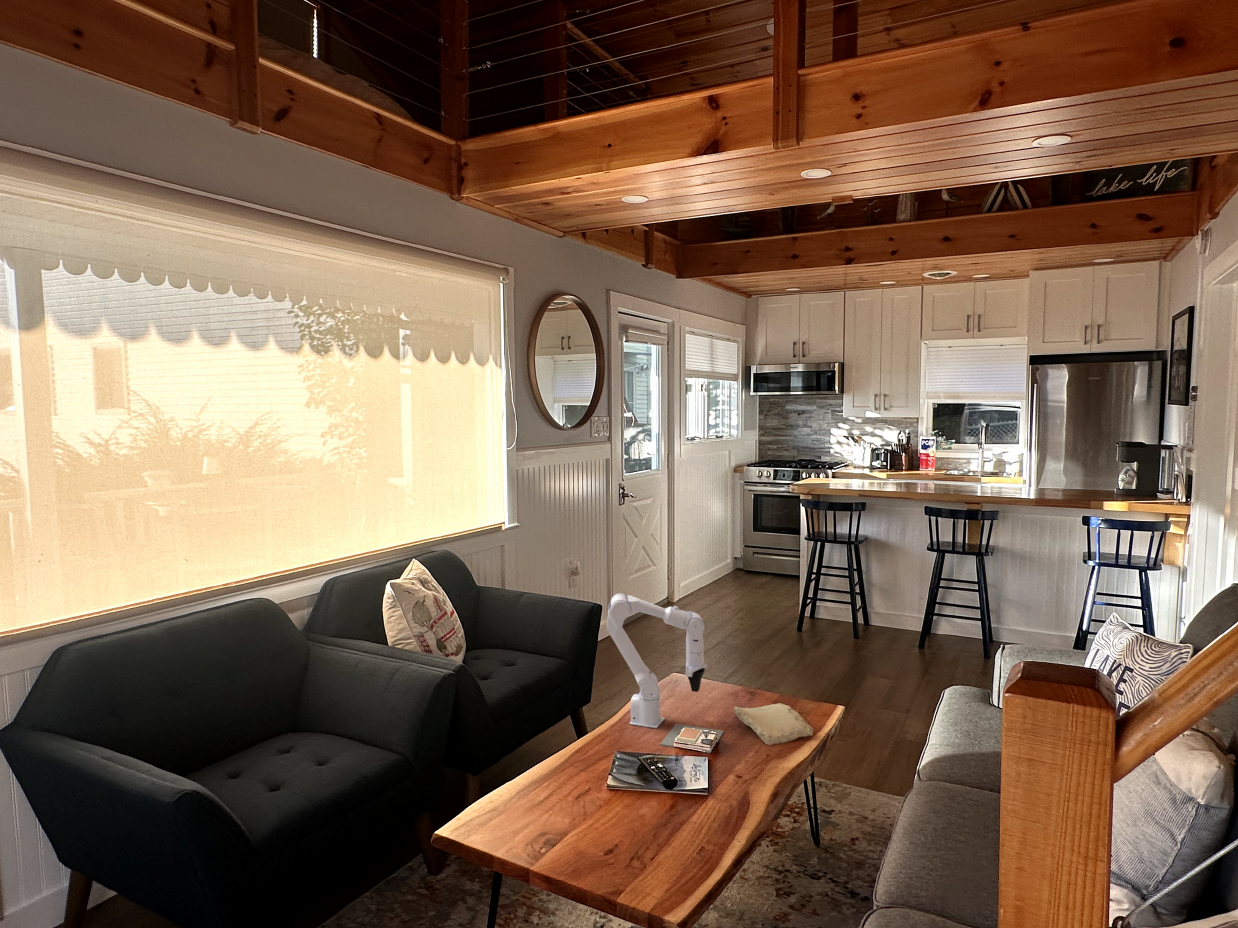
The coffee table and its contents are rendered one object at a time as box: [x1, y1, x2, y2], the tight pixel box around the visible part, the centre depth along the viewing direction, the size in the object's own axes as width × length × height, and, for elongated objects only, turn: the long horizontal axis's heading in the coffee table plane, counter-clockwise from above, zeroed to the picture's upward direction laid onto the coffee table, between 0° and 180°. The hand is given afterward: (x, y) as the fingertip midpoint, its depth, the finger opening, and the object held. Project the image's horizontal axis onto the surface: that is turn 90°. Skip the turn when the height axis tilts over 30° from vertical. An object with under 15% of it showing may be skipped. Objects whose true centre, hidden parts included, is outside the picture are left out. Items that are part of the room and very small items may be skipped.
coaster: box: [677, 727, 703, 744], centre depth 244 cm, size 6×2×8 cm
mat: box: [659, 723, 725, 754], centre depth 246 cm, size 16×16×1 cm
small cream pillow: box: [733, 703, 815, 746], centre depth 254 cm, size 24×8×20 cm
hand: (695, 690), depth 259 cm, fingers closed
